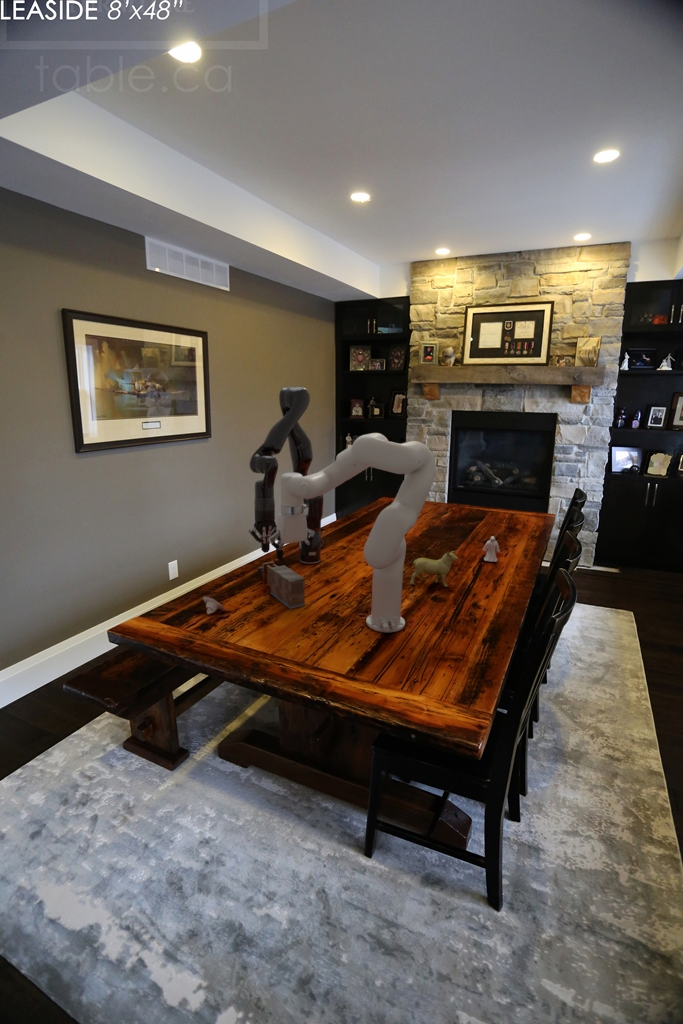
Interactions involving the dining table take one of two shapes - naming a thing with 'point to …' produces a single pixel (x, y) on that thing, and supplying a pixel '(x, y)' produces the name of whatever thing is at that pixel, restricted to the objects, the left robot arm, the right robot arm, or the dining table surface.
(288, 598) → the cabinet
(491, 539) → the figurine
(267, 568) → the drawer
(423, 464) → the right robot arm
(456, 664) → the dining table surface
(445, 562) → the toy
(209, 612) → the seashell
